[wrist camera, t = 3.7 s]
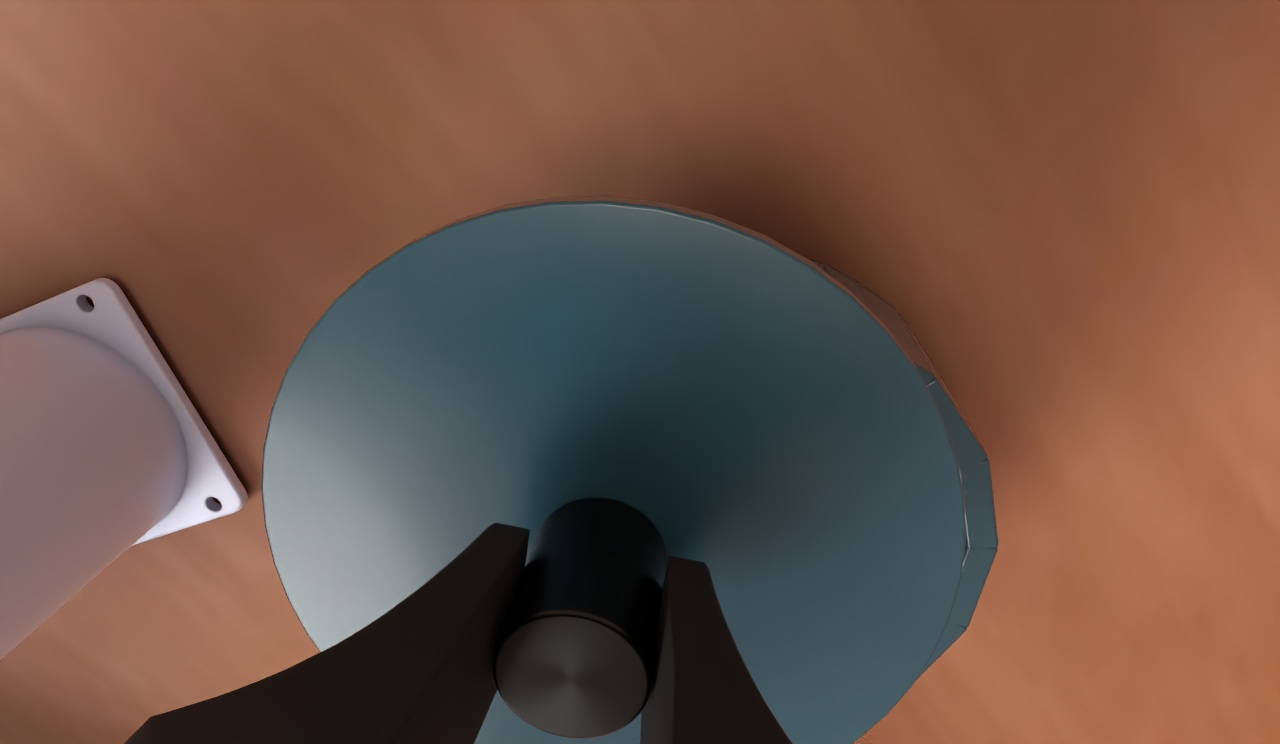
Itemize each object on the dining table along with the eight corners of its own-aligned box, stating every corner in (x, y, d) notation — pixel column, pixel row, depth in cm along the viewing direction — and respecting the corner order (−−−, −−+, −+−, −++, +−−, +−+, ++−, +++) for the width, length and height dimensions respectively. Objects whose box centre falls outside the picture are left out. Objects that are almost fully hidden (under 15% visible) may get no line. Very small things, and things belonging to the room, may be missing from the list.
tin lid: (291, 705, 19) (176, 883, 15) (285, 126, 14) (111, 168, 10) (852, 816, 19) (885, 1028, 15) (1052, 262, 14) (1183, 360, 10)
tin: (517, 573, 27) (473, 686, 22) (558, 213, 22) (513, 261, 18) (882, 642, 27) (914, 771, 22) (1001, 289, 22) (1071, 360, 17)
